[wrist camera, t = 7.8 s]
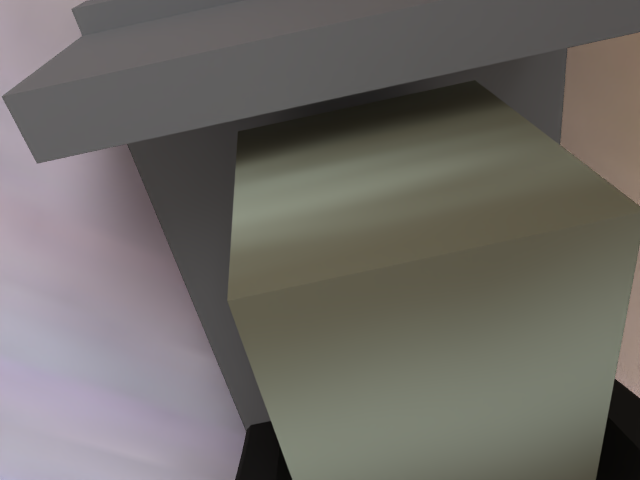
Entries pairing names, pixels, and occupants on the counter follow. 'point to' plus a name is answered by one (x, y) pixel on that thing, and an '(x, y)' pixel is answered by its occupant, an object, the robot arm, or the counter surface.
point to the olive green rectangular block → (429, 290)
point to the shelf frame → (276, 98)
